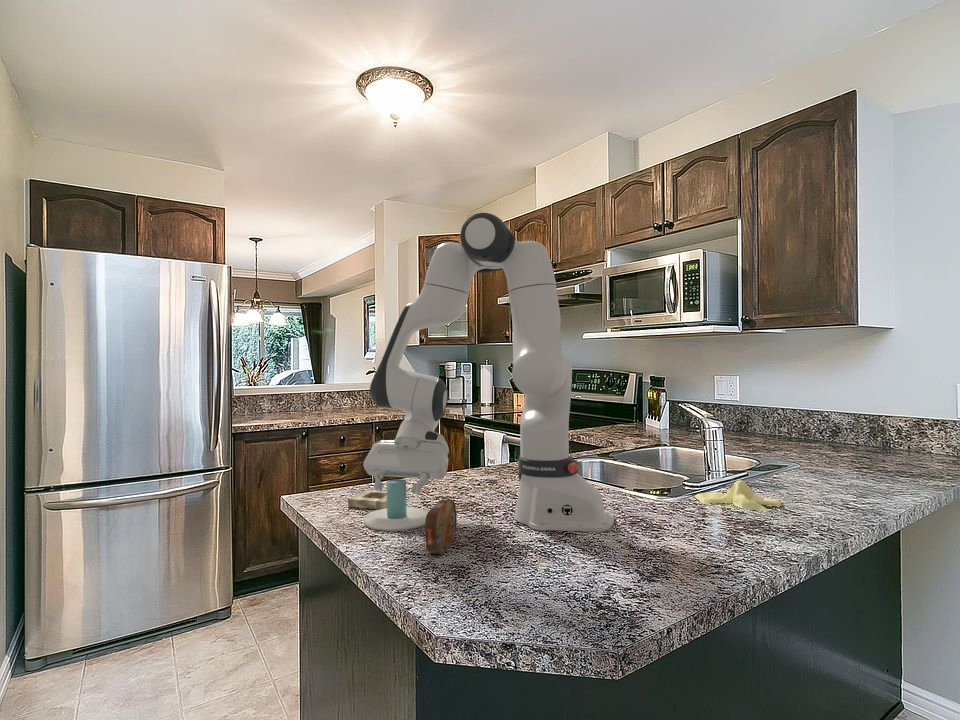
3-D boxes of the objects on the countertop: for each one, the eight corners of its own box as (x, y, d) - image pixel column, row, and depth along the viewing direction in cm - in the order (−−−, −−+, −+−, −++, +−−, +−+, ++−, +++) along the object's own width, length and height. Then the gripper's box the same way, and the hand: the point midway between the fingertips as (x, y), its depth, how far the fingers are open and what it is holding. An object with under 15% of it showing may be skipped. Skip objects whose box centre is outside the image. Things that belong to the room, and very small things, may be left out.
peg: (409, 514, 128) (409, 479, 128) (401, 519, 124) (401, 483, 123) (392, 512, 129) (392, 478, 129) (383, 518, 125) (383, 482, 125)
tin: (438, 561, 101) (438, 515, 101) (422, 560, 102) (421, 514, 102) (458, 534, 116) (458, 494, 116) (443, 534, 117) (443, 494, 117)
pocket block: (402, 499, 145) (402, 492, 145) (384, 509, 135) (384, 501, 135) (368, 497, 148) (367, 489, 148) (348, 506, 138) (348, 498, 138)
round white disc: (440, 514, 131) (440, 509, 131) (413, 533, 117) (413, 528, 117) (383, 509, 136) (383, 505, 136) (351, 527, 121) (351, 522, 121)
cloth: (681, 500, 144) (681, 477, 144) (729, 491, 152) (729, 469, 152) (759, 523, 124) (759, 495, 124) (810, 511, 132) (809, 485, 132)
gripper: (370, 432, 136) (350, 480, 127) (448, 435, 130) (433, 486, 120) (379, 447, 140) (360, 495, 131) (455, 451, 134) (440, 501, 125)
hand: (395, 491), depth 126 cm, fingers open, 8 cm apart
